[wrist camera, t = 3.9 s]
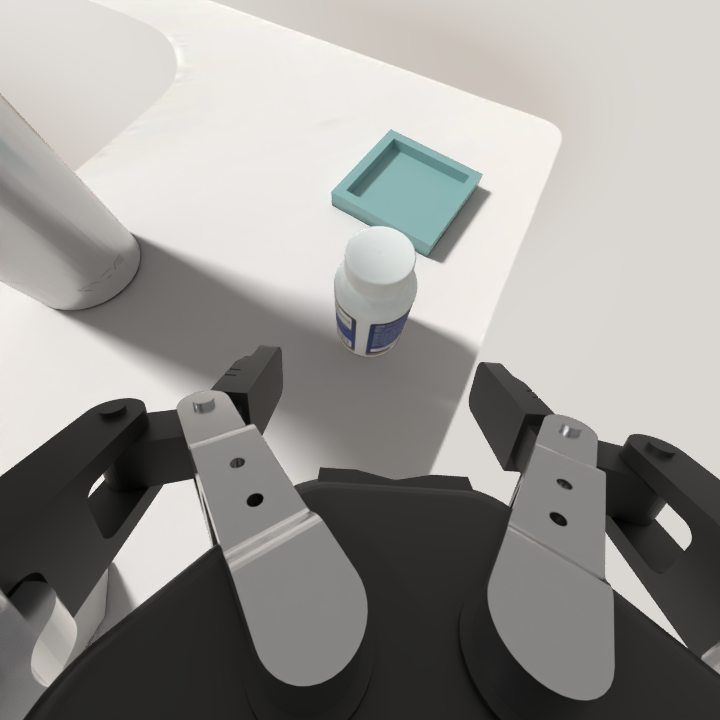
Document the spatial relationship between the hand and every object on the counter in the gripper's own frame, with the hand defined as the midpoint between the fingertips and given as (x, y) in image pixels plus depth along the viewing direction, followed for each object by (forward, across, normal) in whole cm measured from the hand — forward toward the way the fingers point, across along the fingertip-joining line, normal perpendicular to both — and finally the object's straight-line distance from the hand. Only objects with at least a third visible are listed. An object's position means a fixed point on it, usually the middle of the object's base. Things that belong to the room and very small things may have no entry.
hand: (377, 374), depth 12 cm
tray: (+24, -3, -8) cm, 26 cm away
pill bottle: (+14, 0, +3) cm, 14 cm away
